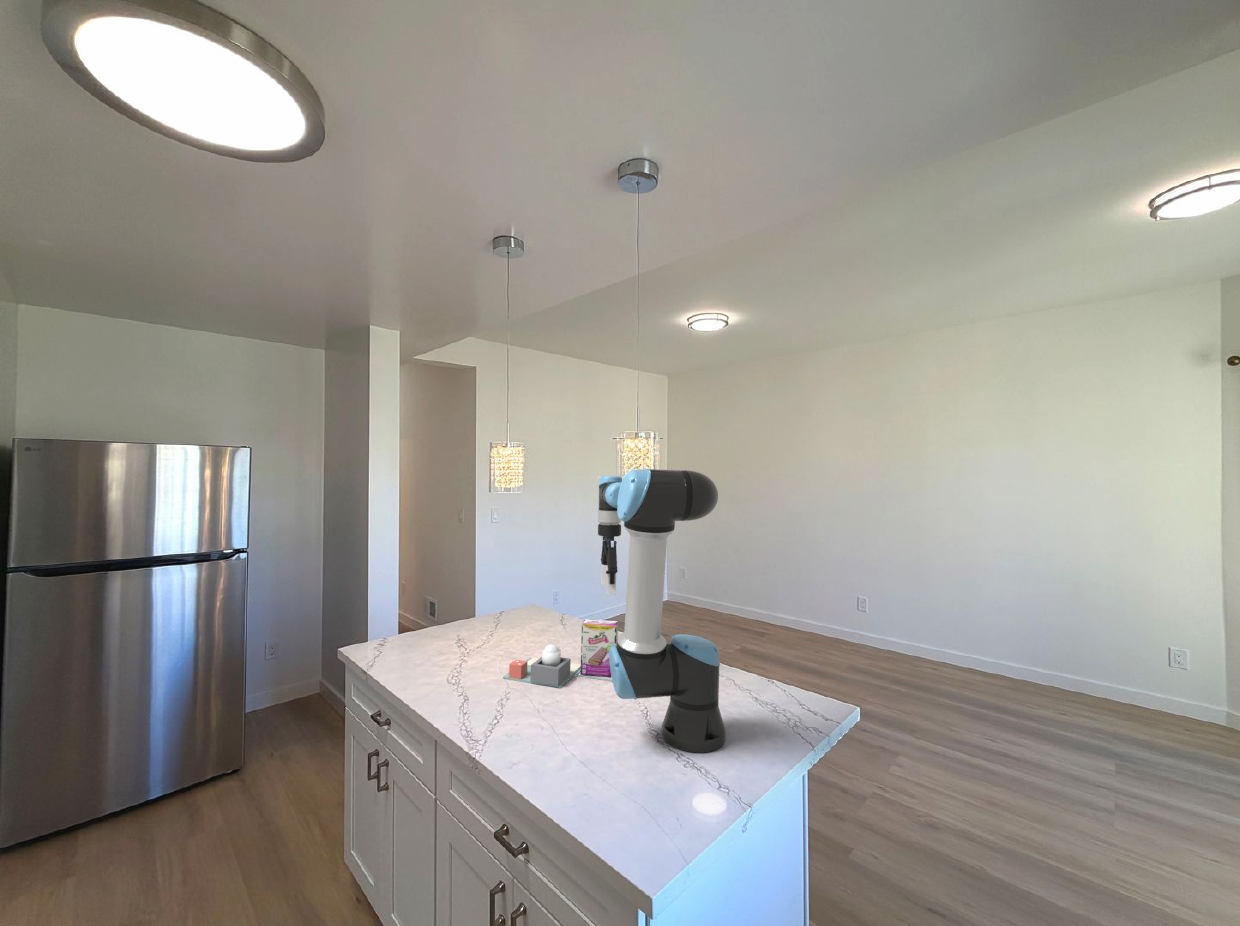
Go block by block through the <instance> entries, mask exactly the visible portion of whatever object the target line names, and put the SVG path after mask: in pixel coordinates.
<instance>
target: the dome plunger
mask: <svg viewBox="0 0 1240 926" xmlns="http://www.w3.org/2000/svg"><path fill="white" fill-rule="evenodd" d="M541 652H542V653H541V657H542V665H547V666H553V667H557V666H558V665H559V664H560V657H561V655H562V654H561V652H562V651H561V649H560V648H559V647H558V646H557V645H556V644H553V643H549V644H547V645H546V646H545V648H542V650H541Z"/></svg>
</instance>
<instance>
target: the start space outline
mask: <svg viewBox="0 0 1240 926" xmlns="http://www.w3.org/2000/svg"><path fill="white" fill-rule="evenodd" d="M580 673H581V668H580V669H579V670H578V671H577V672H576V673H575V674H574V675H573V677H581V678H587V679H593V680H601V681H607V682H612V683H613V681H612V679H610V678H602V677H598V676H592V675H581V674H580Z"/></svg>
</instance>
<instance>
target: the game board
mask: <svg viewBox="0 0 1240 926" xmlns="http://www.w3.org/2000/svg"><path fill="white" fill-rule="evenodd" d="M571 660H572V659H571V658H569V657H561V656H560V664H559V665H558V666H557V667H553V666H547V665H542V656H541V657H540V658H537V657H529V658H527V659H526V660H519V659H515V660H514V661H512V662H511V663H509V668H508V669H509V670H508V673H506V674H505V675H504V676H502V679H504V680H509V681H516V682H522V683H528V684H535V685H539V686H540V685H541V686H545V687H546V686H547V687H552V688H558V689H560V688H562V687H563V686H564V685H565V684H566V683H567V682H568V681H570V680H571V678H572V677H574V674H575V673H576V672H577V671H578V670H579V669H580V668H581V664H577V663H571Z"/></svg>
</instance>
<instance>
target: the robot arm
mask: <svg viewBox="0 0 1240 926" xmlns="http://www.w3.org/2000/svg"><path fill="white" fill-rule="evenodd" d="M598 481H599V482H598V483H599V484H598V510H597V511H598V512H597V514H598V515H597V521H598V525H597V536H600V537H602V543H601V544H602V546H601V555H600V556H601V557H600V562H601V572H600V573H601V577H600V578H601V580H600V581H601V582H600V585H601V586H606V595H607V596H609V595H610V596H612V595H613V596H614V595H615V596H616V594H617V593H616V592H617V591H616V590H617V573H618V571H619V570H618V556H617V543H618V542H617V541H616V540H615V537H620V536H621V535H622V524H621V522H623V528H624V529H625V530H626V531H627V532H628V533H629V547H628V562H627V563H628V564H627V565H628V566H627V580H626V581H627V583H626V595H625V596H626V597H625V598H626V599H625V615H624V616H625V617H624V631H622V632H621V633H620V634H618V640H617V646H613V647H611V648H610V651H609V662H610V670H611V676H612V677H611V680H612V681H613V682H612V681H611V682H612V685H613V688H614V691H615V694H616V695H617V697H618V698H620V699H622V700H632V699H633V700H638V699H646V698H647V699H648V698H663V697H664V698H665V697H670V698H669V704H668V707H667V710H666V712H665V715H664V718H663V720H662V721H663V722H662V724H661V725H662V729H661V731H662V732H661V735H662V738H663V739H664V741H665V742H666V743H667V744H668V745H670V746H672V747H674V748H675V749H678V750H681V751H685V752H690V753H697V754H698V753H699V754H701V753H710V752H713V751H717V750H718V748H719V749H720V748H722V747H723V746H724V744H725V743H726V727H725V724H724V721H723V717H722V713H721V710H720V707H719V698H720V697H719V693H720V690H719V689H720V667H721V663H720V651H719V648H718V646H717V645H716V644H715V643H714V642H712V641H711V640H708V639H706V638H704V637H701V636H698V635H692V634H684V633H683V634H680V633H679V634H675V635H673V636H672V637H671V639H670V643H667V640H666V638H665V637H664V636H663V635H662V622H663V621H662V618H663V606H664V604H663V603H664V590H665V589H664V588H665V575H666V562H667V561H666V560H667V548H668V547H667V546H668V537H669V536H670V535H671V534H672V533H674V531H675V527H676V522H678V521H679V522H689V521H696V520H700V519H703V518H704V517H706V516H708V515H710V514H711V513H712V512H713V510H714V509H715V508H716V506H717V504H718V500H719V491H718V488H717V486H716V484H715V482H714V481H713V480H712V479H711V478H710V477H709V476H707V475H705V474H703V473H701V472H698V471H693V470H687V469H685V470H684V469H683V470H679V469H678V470H675V469H653V468H652V469H651V468H644V469H643V468H642V469H631V470H629V471H627V472H626V473H625V474H624V476H623V478H622V477H621V476H618V475H617V476H615V475H601V476H600V477H599V480H598ZM716 749H717V750H716Z"/></svg>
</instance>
